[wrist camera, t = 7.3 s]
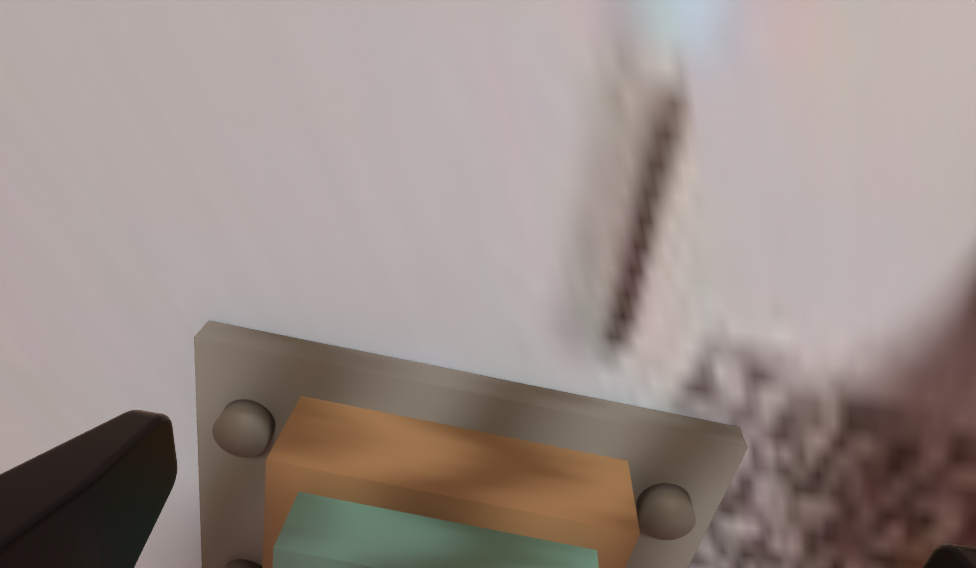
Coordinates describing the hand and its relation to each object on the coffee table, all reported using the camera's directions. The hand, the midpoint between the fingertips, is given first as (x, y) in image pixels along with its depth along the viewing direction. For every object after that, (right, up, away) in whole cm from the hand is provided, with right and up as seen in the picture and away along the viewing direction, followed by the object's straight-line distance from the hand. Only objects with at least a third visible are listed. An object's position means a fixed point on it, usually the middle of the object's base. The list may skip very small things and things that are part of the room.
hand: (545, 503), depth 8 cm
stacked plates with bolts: (-2, -7, +17) cm, 18 cm away
